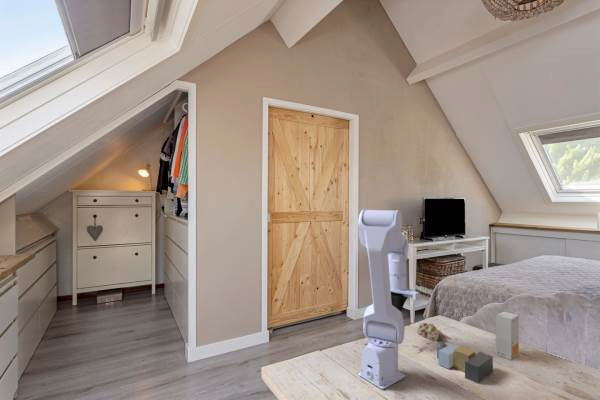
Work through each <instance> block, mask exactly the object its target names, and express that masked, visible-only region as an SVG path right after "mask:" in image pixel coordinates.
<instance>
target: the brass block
mask: <svg viewBox="0 0 600 400" xmlns="http://www.w3.org/2000/svg"><path fill="white" fill-rule="evenodd" d="M474 355H476V351H475V350H473V349H470V348H467V347H464V346H461V345H459V347H458V348H456V349H454V350H453V367H452V368H453V369H454V370H458V371H460V372H462V373H464V374H465V361H467V360H468V359H470V358H471V357H473V356H474Z"/></svg>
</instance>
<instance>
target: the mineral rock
mask: <svg viewBox="0 0 600 400" xmlns="http://www.w3.org/2000/svg"><path fill="white" fill-rule="evenodd" d="M416 331H417V335H420V336H422V337H424V338H426V339H428V340H430V341H435V342H443V340H444V336H443V334H442V332H441V330H439V329H438V328H437V327H436V326H435V325H434V324H433V323H429V324H428V323H427V322H423V323H422V324H420V325H419V326H418V328H417V330H416Z"/></svg>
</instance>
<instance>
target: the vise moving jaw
mask: <svg viewBox="0 0 600 400" xmlns="http://www.w3.org/2000/svg"><path fill="white" fill-rule="evenodd" d="M436 342H437V343H436V358H437V359H438V362H437V363H438V365H439V366H442V367H444V368H446V369H449V370H450V369H451V368H453V350H454V349H456V348H458V347H459V346H460V345H459V344H456V343H450V344H448V345H447V344H446V342H443V341H441V342H440V341H436Z"/></svg>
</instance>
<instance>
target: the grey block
mask: <svg viewBox="0 0 600 400" xmlns="http://www.w3.org/2000/svg"><path fill="white" fill-rule="evenodd" d="M493 362H494V356H493V355H491V354H490V355H489V354H488V353H485V352H481V351H479V352H477V353H475V355H474V356H473V357H471V358H470V359H468V360H467V361H465V373H464V379H467V380H469V381H471V382H474V383H476V384H480V383H482V381H484V380H485V379H487V378H488V377H489V376H490V375H491V374H493V372H494V371H493V370H494V363H493Z"/></svg>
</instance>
